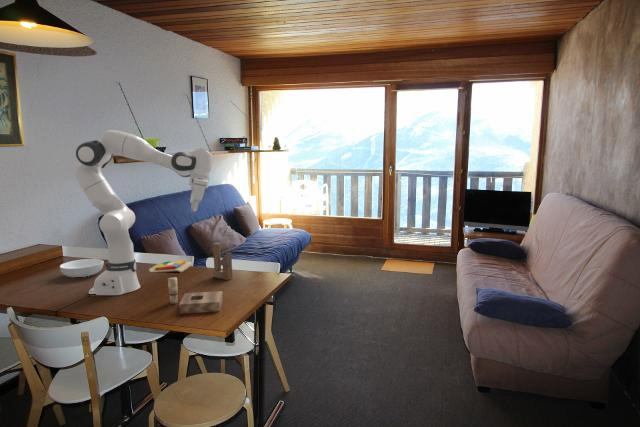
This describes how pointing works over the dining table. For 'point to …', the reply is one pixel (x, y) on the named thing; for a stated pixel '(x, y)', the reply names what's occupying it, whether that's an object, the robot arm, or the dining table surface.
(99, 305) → the dining table surface
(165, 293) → the dining table surface
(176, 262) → the wooden puzzle
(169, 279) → the peg
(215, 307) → the board
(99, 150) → the robot arm
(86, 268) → the serving bowl
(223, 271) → the wooden block
